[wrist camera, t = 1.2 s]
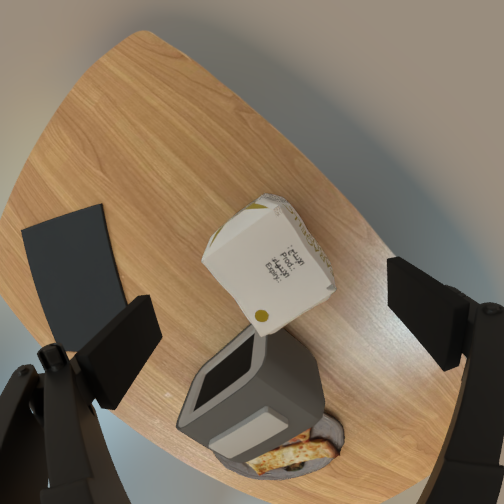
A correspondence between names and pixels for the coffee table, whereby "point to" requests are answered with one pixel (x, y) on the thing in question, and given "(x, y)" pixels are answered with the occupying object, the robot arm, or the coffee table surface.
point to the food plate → (295, 453)
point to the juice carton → (270, 263)
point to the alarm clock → (253, 396)
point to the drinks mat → (75, 275)
